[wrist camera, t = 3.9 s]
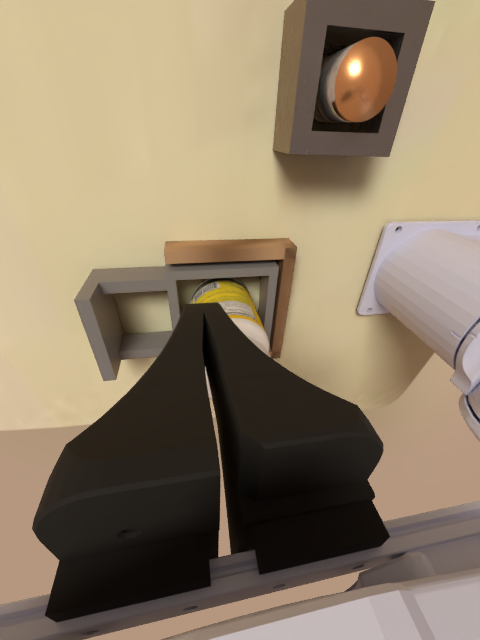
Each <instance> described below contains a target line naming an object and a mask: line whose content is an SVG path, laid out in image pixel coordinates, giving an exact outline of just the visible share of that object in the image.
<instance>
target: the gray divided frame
mask: <svg viewBox="0 0 480 640" xmlns="http://www.w3.org/2000/svg"><path fill="white" fill-rule="evenodd" d="M278 270H279V266H278V265H277V264H276V262H275V261H274V260H254V261H229V262H204V263H180V264H166V265H165V266H163V267H139V268H115V269H93V270H92V272H91V273H90V275H89V277H88V278H87V280H86V281H85V283H84V285H83V286H82V288H81V290H80V291H79V293H78V295H77V296H76V298H75V300H74V301H75V304H76V307H77V310H78V312H79V315H80V318H81V321H82V323H83V326H84V329H85V331H86V334H87V337H88V340H89V342H90V345H91V348H92V351H93V353H94V356H95V359H96V361H97V364H98V367H99V370H100V372H101V375H102V378H103V381H109V380H116V378H117V374H118V370H119V366H120V362H121V360H124V359H135V358H146V357H156V356H159V354H160V353H161V351H162V350H163V348H164V347H165V345H166V343H167V342H168V340H169V338H170V337H171V335H172V333H173V331H174V329H175V327H176V325H177V323H178V320H179V318H180V316H181V308H180V299H179V290H178V281H177V280H191V279H211V278H231V277H251V276H261V285H260V297H259V309H258V315H259V318H260V320H261V322H262V325H263V327H264V329H265V331H266V334H267V336H268V340H269V344H270V336H271V328H272V320H273V311H274V303H275V295H276V287H277V278H278ZM166 290H167V292H168V299H169V307H170V314H171V321H172V329H173V331H166V332H153V333H140V334H128V335H123V332H122V328H121V324H120V320H119V317H118V313H117V309H116V306H115V302H114V298H113V293H130V292H148V291H166Z"/></svg>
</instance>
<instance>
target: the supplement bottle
mask: <svg viewBox="0 0 480 640" xmlns="http://www.w3.org/2000/svg"><path fill="white" fill-rule="evenodd" d="M213 302H218V303H219V304H220V305H221V306H222V308H223V309H224V311H225V312H226V313H227V315H228V316H229V317H230V318H231V320H232V321H233V322H234V323H235V324H236V326H237V327H238V328H239V329H240V330H241V331H242V332H243V333H244V334H245V335H246V336H247V337H248V338H249V339H250V340H251V341H252V342H253V343H254V344H255V345H256V346H257V347H258V348H259V349H260V350H261V351H263V352H264V353H265V354H266V355H268V356H269V357H270V355H269V340H268V336H267V334H266V331H265V329H264V327H263V325H262V322H261V320H260V318H259V315H258V313H257V311H256V308H255V306H254V303H253V301H252V299H251V296H250V294H249V292H248V290H247V288H246V287H245V286H244V285H243V284H242V283H241V282H240V281H238V280H237V279H235V278H232V277H231V278H211V279H207V280H205V281H203V282H202V283H200V284H199V285H198V286H197V287H196V289H195V290H194V292H193V294H192V296H191V300H190V304H194V303H213ZM205 374H206V381H207V388H208V395H209V397H210V398H211V399H212V395H211V390H210V386H209V381H208V376H207V372H206V367H205Z"/></svg>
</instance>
